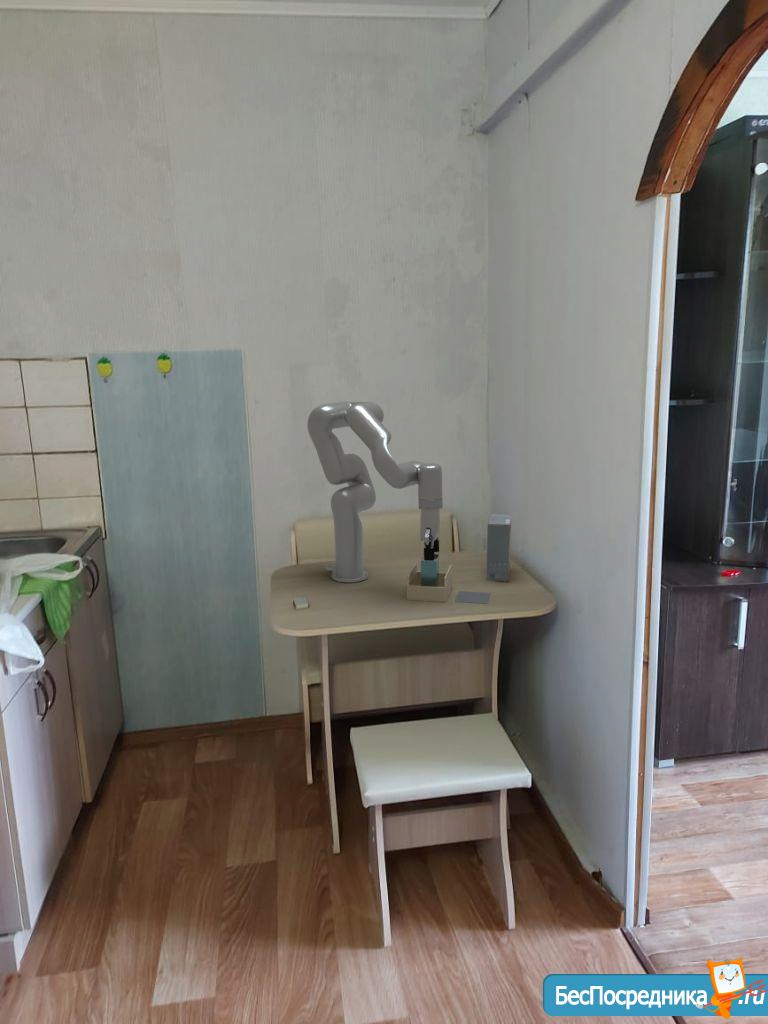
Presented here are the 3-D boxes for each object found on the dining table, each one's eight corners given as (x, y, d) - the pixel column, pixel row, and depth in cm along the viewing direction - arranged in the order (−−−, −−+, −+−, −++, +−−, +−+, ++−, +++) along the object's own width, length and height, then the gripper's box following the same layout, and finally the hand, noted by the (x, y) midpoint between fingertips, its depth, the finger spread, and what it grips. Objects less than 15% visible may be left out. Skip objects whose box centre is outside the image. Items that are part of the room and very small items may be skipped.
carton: (406, 600, 237) (406, 576, 235) (415, 585, 251) (415, 562, 249) (445, 603, 234) (445, 578, 232) (452, 587, 248) (452, 564, 247)
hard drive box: (508, 582, 253) (510, 524, 248) (485, 581, 254) (486, 524, 250) (510, 568, 268) (511, 514, 263) (488, 567, 269) (489, 513, 265)
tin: (420, 594, 241) (420, 558, 238) (423, 589, 245) (423, 553, 243) (436, 595, 239) (436, 559, 237) (439, 590, 244) (439, 554, 242)
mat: (454, 603, 234) (455, 601, 234) (459, 592, 243) (459, 591, 243) (487, 605, 232) (487, 603, 232) (490, 594, 241) (490, 592, 241)
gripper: (423, 497, 245) (424, 548, 248) (413, 509, 228) (415, 563, 232) (446, 497, 243) (447, 549, 247) (438, 509, 226) (439, 564, 230)
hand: (431, 556), depth 239 cm, fingers open, 9 cm apart
